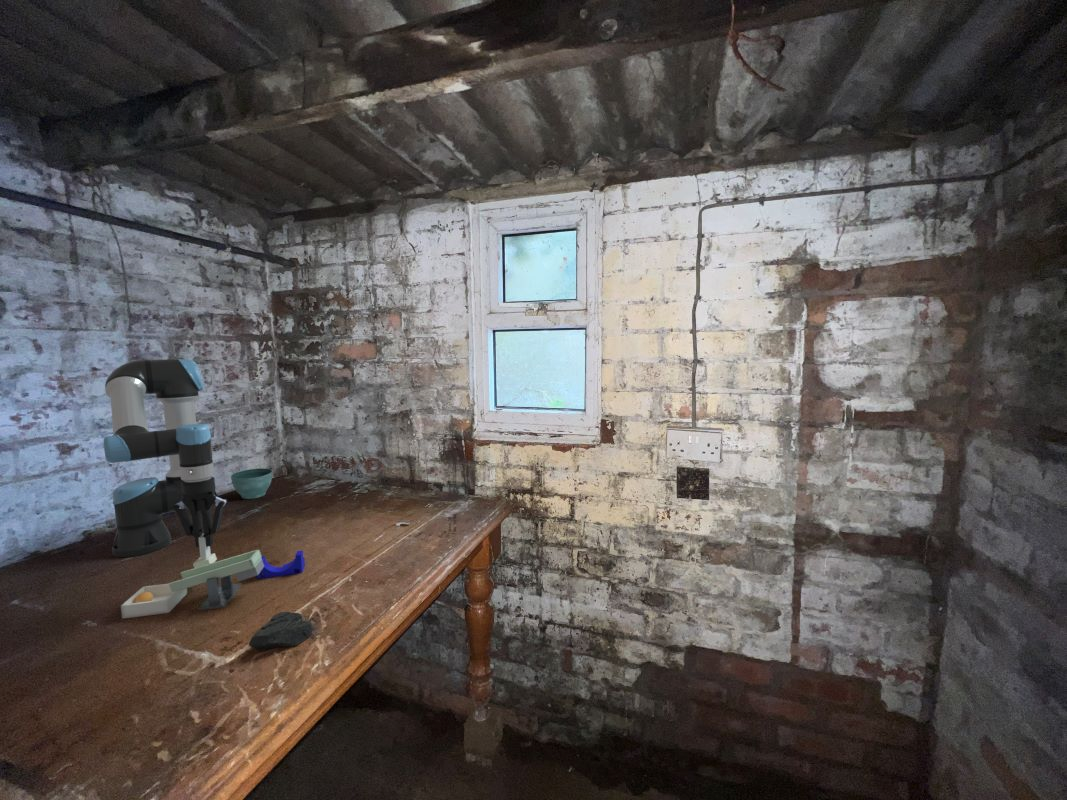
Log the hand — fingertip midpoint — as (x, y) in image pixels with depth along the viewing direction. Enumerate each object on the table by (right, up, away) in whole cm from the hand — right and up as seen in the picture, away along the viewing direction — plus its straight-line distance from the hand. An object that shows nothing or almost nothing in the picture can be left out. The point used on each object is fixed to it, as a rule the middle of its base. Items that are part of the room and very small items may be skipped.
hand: (205, 556), depth 125 cm
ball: (-9, -8, -10) cm, 15 cm away
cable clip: (+18, -8, +7) cm, 21 cm away
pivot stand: (+9, -9, -6) cm, 14 cm away
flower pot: (-34, +1, +74) cm, 82 cm away
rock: (+36, -12, -23) cm, 44 cm away
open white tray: (-6, -10, -9) cm, 15 cm away
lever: (+8, -4, -2) cm, 10 cm away
